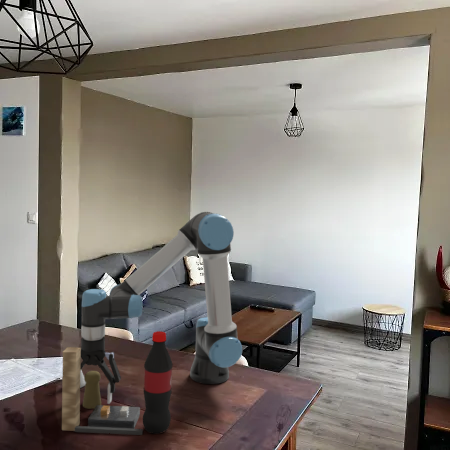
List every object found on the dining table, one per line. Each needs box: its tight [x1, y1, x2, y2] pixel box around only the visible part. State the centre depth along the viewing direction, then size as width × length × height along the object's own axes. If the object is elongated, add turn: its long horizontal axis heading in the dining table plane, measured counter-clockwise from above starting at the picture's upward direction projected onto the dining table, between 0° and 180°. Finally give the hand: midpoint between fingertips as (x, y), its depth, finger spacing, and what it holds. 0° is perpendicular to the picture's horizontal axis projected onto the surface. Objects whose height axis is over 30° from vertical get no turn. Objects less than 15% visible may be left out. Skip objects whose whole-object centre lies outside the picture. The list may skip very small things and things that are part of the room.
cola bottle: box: [142, 330, 174, 435], centre depth 142 cm, size 8×8×30 cm
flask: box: [80, 369, 86, 389], centre depth 171 cm, size 7×7×10 cm
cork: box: [82, 370, 102, 410], centre depth 157 cm, size 6×6×11 cm
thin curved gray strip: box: [74, 425, 144, 436], centre depth 140 cm, size 20×1×1 cm, turn 89°
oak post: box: [61, 346, 82, 432], centre depth 141 cm, size 4×4×24 cm
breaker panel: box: [87, 404, 141, 429], centre depth 147 cm, size 14×9×4 cm, turn 89°
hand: (91, 401), depth 157 cm, fingers open, 11 cm apart
